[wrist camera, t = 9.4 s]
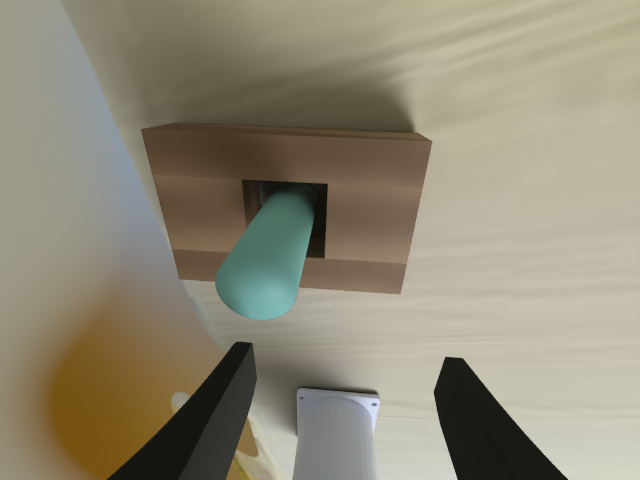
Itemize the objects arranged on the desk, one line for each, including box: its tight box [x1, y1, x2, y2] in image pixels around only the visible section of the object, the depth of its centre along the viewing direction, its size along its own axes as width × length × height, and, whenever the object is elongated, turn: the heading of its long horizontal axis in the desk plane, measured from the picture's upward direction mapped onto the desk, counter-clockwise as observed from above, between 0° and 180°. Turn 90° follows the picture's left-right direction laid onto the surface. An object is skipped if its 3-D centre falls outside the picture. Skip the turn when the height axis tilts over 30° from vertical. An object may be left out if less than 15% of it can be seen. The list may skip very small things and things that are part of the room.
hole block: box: [141, 123, 432, 294], centre depth 17 cm, size 9×14×3 cm, turn 88°
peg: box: [215, 181, 317, 320], centre depth 14 cm, size 3×3×9 cm
